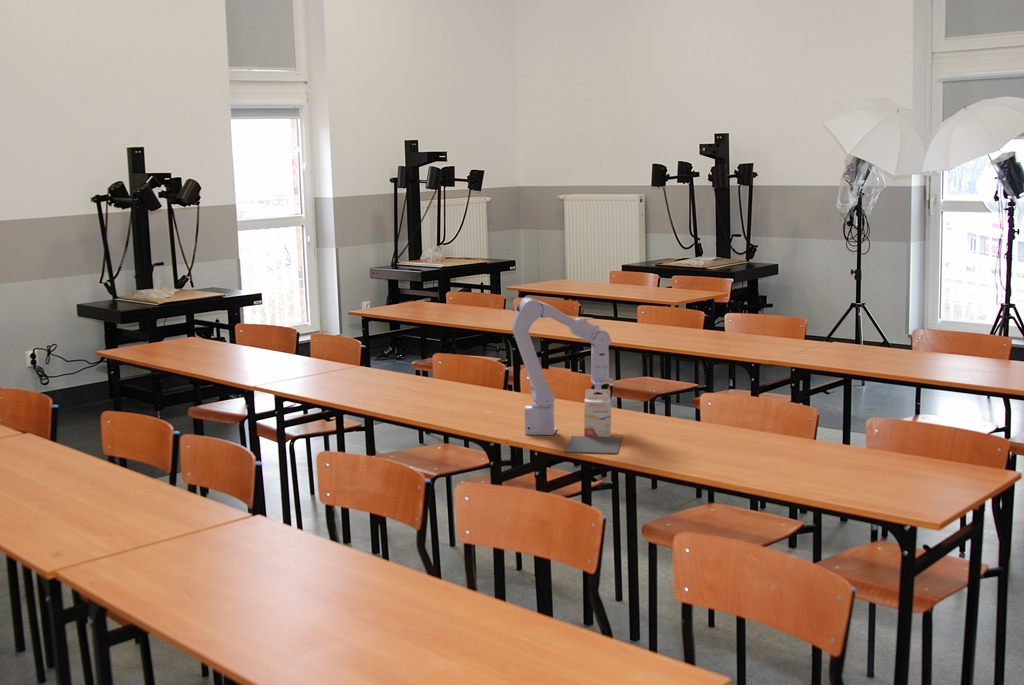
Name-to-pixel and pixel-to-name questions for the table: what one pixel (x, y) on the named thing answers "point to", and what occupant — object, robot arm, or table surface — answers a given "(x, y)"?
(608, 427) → the ink cartridge box
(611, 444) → the mat
